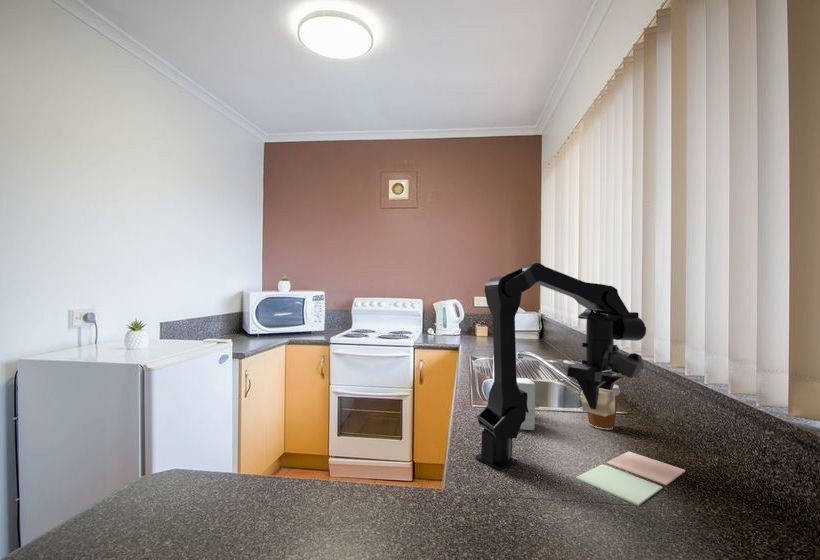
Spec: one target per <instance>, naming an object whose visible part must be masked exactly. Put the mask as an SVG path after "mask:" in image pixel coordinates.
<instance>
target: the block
mask: <svg viewBox="0 0 820 560" xmlns="http://www.w3.org/2000/svg"><path fill="white" fill-rule="evenodd" d="M581 408H582V412H587V413H588V412H590V413H593V414H597V415H601V416H604V417H605V416H608V415H611V414H614V413H615V391H612V390H607V389H602V388H599V393H598V400H597V406H596V409H591V408H590V406H589V404H588V402H587V400H586V398H585V395H584V393H583V392H582V407H581Z"/></svg>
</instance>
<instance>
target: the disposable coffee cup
mask: <svg viewBox="0 0 820 560" xmlns="http://www.w3.org/2000/svg"><path fill="white" fill-rule="evenodd" d="M612 391H615V413H614V414H611V415H608V416H605V417H604V416H601V415H597V414H593V413H590V412H587V419H588V424H589V423H590V424H592V425H594V426H597V427H602V428H612V427H614V428H615V424H616V418H617V411H618V410H617V409H618V402H619V398H620V397H619V396H620V394H621V390H620V386H619V385H617V384H616V383H615V384H614V386H613V389H612Z"/></svg>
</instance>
